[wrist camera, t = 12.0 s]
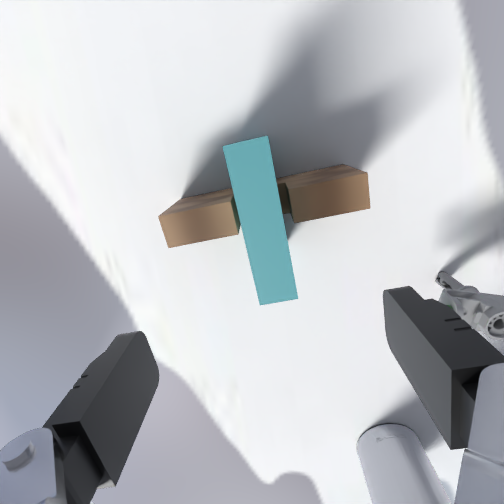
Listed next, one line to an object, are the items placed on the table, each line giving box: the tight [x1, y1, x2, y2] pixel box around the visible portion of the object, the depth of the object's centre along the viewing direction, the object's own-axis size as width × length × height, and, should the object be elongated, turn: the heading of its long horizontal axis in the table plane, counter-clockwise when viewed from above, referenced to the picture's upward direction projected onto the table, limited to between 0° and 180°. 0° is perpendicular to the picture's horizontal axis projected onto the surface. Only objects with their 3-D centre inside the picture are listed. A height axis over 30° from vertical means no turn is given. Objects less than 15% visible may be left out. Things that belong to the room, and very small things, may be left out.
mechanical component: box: [436, 272, 504, 340], centre depth 32 cm, size 3×10×10 cm, turn 83°
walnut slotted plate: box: [158, 164, 370, 248], centre depth 30 cm, size 18×3×8 cm, turn 102°
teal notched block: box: [222, 136, 298, 305], centre depth 28 cm, size 12×3×13 cm, turn 12°
